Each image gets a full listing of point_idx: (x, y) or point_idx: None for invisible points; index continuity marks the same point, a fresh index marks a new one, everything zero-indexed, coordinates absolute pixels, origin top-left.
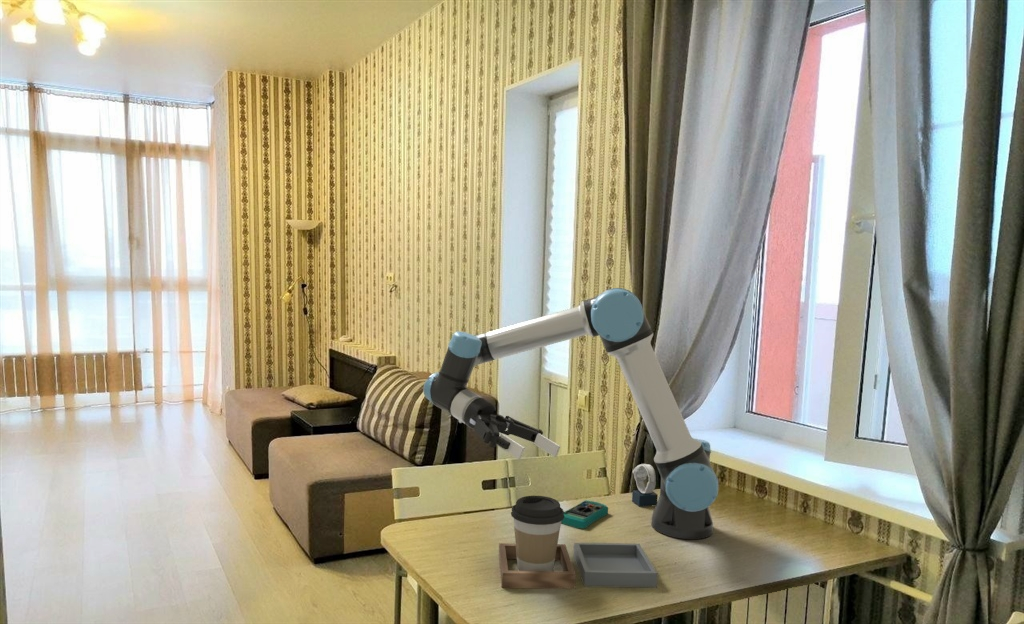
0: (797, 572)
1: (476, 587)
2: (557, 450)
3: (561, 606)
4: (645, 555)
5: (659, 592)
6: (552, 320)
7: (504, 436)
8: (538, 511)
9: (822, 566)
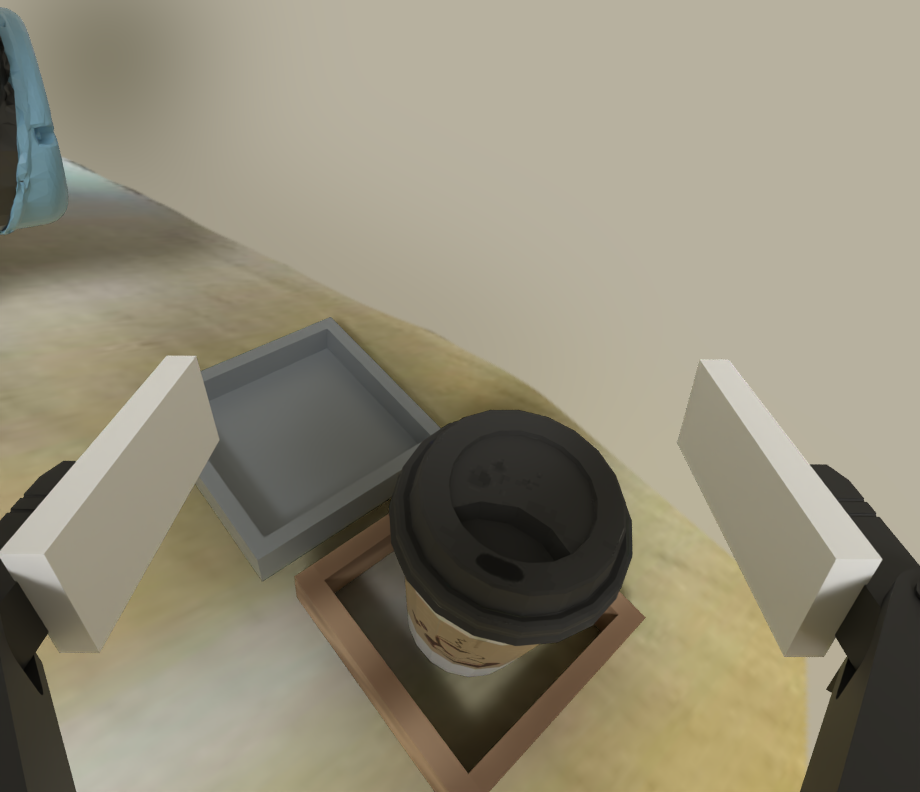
0: (75, 175)
1: (691, 702)
2: (200, 391)
3: None
4: (234, 360)
5: (351, 334)
6: None
7: (843, 516)
8: (594, 448)
9: None
